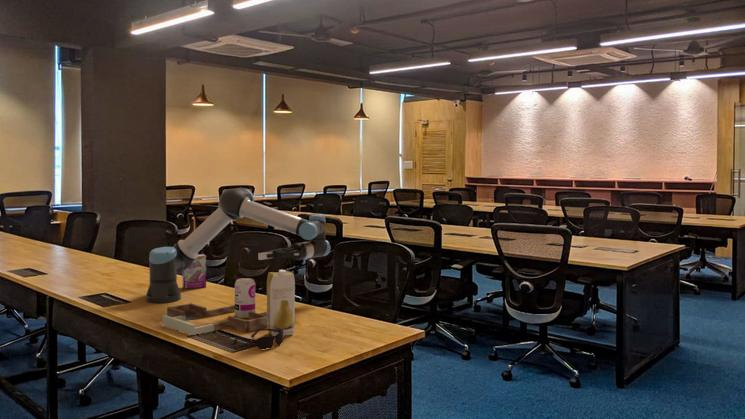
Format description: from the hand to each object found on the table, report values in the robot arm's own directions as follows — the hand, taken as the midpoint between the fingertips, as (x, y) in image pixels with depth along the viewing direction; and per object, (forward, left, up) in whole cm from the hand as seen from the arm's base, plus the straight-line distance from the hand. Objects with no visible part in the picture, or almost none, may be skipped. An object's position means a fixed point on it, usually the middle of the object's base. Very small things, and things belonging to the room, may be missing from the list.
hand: (259, 256), depth 253 cm
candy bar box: (-38, +53, -24) cm, 70 cm away
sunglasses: (+5, -44, -24) cm, 51 cm away
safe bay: (-24, -24, -24) cm, 42 cm away
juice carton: (+12, -32, -24) cm, 42 cm away
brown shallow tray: (-12, -12, -24) cm, 29 cm away
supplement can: (-5, -5, -24) cm, 25 cm away
